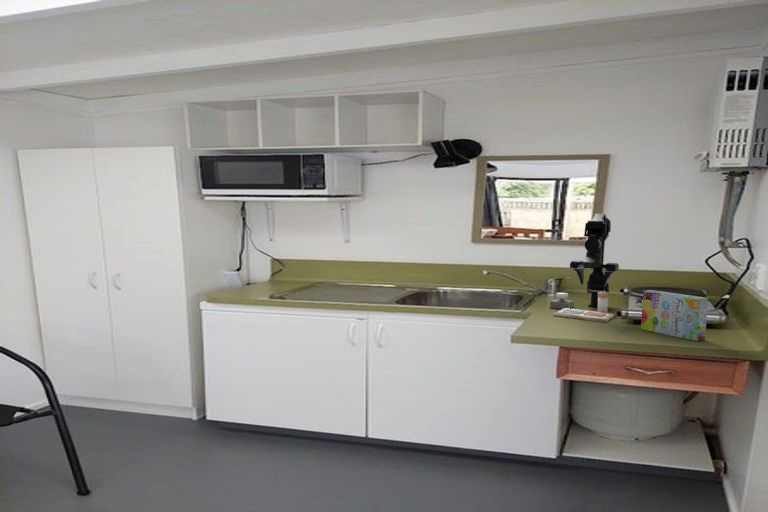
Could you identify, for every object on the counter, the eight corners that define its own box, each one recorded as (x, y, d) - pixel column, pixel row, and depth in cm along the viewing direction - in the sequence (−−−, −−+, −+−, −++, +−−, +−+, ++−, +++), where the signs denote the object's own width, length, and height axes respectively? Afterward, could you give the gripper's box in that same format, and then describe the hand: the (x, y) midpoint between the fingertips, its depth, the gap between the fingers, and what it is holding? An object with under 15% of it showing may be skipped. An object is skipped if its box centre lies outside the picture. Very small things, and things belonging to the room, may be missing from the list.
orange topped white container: (598, 311, 224) (599, 291, 223) (608, 312, 222) (609, 292, 221) (596, 313, 221) (596, 292, 220) (606, 314, 218) (607, 293, 217)
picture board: (564, 310, 227) (564, 307, 227) (614, 316, 214) (614, 313, 214) (553, 315, 215) (553, 312, 215) (605, 322, 203) (605, 319, 202)
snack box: (706, 340, 176) (708, 297, 175) (697, 342, 174) (699, 299, 172) (648, 327, 195) (650, 288, 193) (639, 329, 192) (641, 290, 190)
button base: (556, 305, 238) (556, 298, 238) (573, 307, 234) (573, 300, 233) (550, 307, 232) (550, 301, 232) (567, 309, 227) (568, 303, 227)
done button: (558, 302, 236) (558, 292, 236) (569, 304, 233) (569, 293, 233) (554, 304, 232) (554, 293, 232) (565, 305, 229) (566, 294, 229)
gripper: (565, 250, 215) (564, 286, 217) (612, 252, 203) (611, 291, 205) (574, 247, 223) (573, 282, 225) (619, 250, 212) (618, 286, 214)
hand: (593, 285), depth 217 cm, fingers open, 9 cm apart
